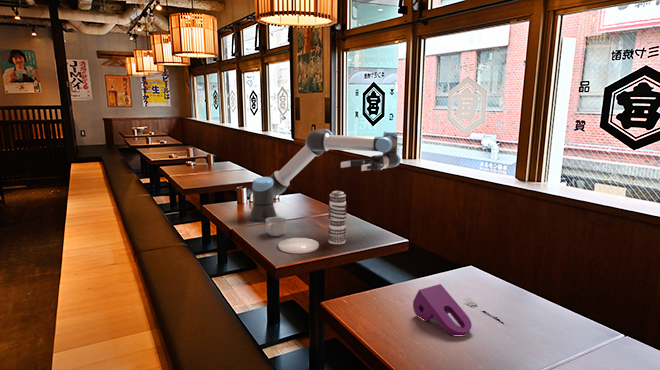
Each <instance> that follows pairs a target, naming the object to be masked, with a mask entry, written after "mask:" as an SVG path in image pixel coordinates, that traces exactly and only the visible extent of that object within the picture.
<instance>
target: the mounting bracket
mask: <svg viewBox="0 0 660 370" xmlns="http://www.w3.org/2000/svg"><path fill="white" fill-rule="evenodd" d="M412 308H413V311H414V314H415V315H417V316H419V317H421V318H422V319H424V320H425V321H424V322H427V321H429V320H432V319H435V320H436V321H437V322H438V323H439V325H440V326H441V327H442V329H443V330H444V331H445V332H447V334H449V335H451V336H453V335H465V334H467V333H469V332H470V331H471V329H472V321H471V319H470V317H469V316H468V315H467V313H466V312H465V311H464V309H462V307H461V306H460V305H459V304H458V302H456V300H455V299H454V298H453V297H452V295H451V294H450V293H449V292H448V291H447V290H446V288H445V287H444V286H443V284H441V283H439V284H435V285H432V286H428V287H423V288H421V289H418V291H417V293H416V295H415V296H414V299H413V301H412ZM449 314H450V315H451V316H452V317H453V319H454V320H455V321H456V322H455V321H454V320H453V319H452V317H451V316H450V315H449ZM417 316H416V317H417ZM456 323H458V325H459V326H458V325H457V324H456ZM467 335H468V334H467ZM465 336H466V335H465Z"/></svg>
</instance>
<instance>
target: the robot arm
mask: <svg viewBox="0 0 660 370" xmlns="http://www.w3.org/2000/svg"><path fill="white" fill-rule="evenodd" d="M398 139H399V137H398V132H397V131H394V130H393V131H392V130H391V131H390V130H386V131H383V136H370V135H369V136H368V135H367V136H365V135H364V136H363V135H343V134H341V135H339V134H333V133H332V131H331V130H329V129H328V128H327V129H326V128H320V129H315V130H311V131H310V132H309V133H308V134H307V135H306V137H305V142H304V143H305V145H304V146H303V147H302V148H301V149H300V150H299V151H298V152H297V153H296V154H295V155H293V157H292V158H291V159H290V160H289V161H288V162H286V164H285V165H284V166H283V167H282V168H281V169H280V170H275V171H274V172H273V173H272V174H271V175H270V176H260V177H257V178H255V179H254V180H253V181H252V186H251V188H252V208H251V211H250V215H249V217H250V220H251V221H252V222H258V223H259V222H260V223H261V222H262V223H266V219H267V218H270V217H278V216H277V212H276V209H275V206H274V205H275V204H274V198H275V197H277V196H280V195H282V194H283V193H284V192H285V191H286V190H287V188H288V187H289V186H290V185H291V184H290V181H291V180H293V178H294V177H296V176H297V174H299V173H300V172H301V171H302V170H303V169H304V168H305V167H306V166H307V165H308V164H309V163H310V162H311V161H312V160H313V159H315V157H320V156H321V155H322V154H323V153H324V152H328V151H329V150H334V151H335V150H336V151H337V150H339V151H362V152H363V151H364V152H365V151H366V152H380V153H382V154H378V155H371V157H370V158H369V159H350V160H349V159H347V160H346V161H341V162H340V168H341V169H344V168H350V167H354V166H355V167H361V170H360V171H361V172H363V171H370V170H373V171H379V170H380V171H383V169H389V168H390V169H391V168H396V167H398V166H399V165H400V163H401V157H400V154H398Z"/></svg>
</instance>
